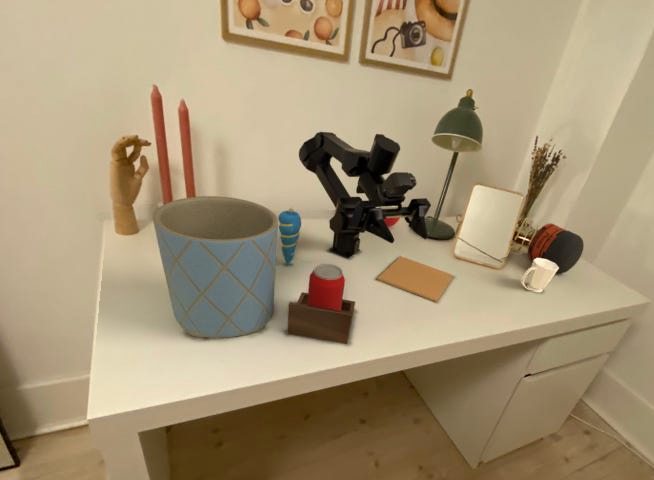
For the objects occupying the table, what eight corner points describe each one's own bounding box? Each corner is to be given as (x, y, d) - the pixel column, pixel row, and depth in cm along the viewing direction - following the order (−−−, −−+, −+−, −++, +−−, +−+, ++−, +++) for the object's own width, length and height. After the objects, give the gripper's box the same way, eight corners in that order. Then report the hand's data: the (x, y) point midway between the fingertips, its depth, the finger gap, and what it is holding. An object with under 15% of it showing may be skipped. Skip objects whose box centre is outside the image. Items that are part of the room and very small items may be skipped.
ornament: (273, 264, 92) (274, 205, 84) (285, 257, 96) (287, 200, 88) (291, 271, 91) (293, 212, 83) (302, 263, 95) (306, 206, 87)
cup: (552, 294, 106) (564, 269, 102) (526, 297, 102) (538, 271, 97) (534, 281, 111) (546, 257, 107) (509, 283, 107) (520, 258, 102)
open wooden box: (301, 301, 81) (302, 273, 78) (353, 310, 82) (358, 283, 78) (287, 334, 72) (288, 304, 68) (347, 344, 73) (351, 315, 69)
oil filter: (544, 257, 129) (561, 221, 121) (575, 274, 121) (595, 237, 114) (521, 261, 122) (537, 224, 114) (552, 280, 114) (572, 241, 107)
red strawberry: (385, 231, 121) (391, 201, 116) (374, 222, 126) (379, 193, 121) (400, 231, 124) (406, 201, 119) (389, 222, 129) (395, 193, 124)
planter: (173, 289, 77) (158, 193, 66) (269, 285, 84) (270, 198, 73) (167, 349, 63) (145, 240, 52) (283, 339, 70) (286, 241, 59)
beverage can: (344, 318, 79) (351, 269, 72) (330, 336, 74) (336, 283, 67) (315, 308, 80) (320, 258, 74) (299, 324, 75) (303, 272, 68)
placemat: (377, 279, 95) (377, 277, 95) (400, 258, 108) (400, 256, 108) (436, 302, 91) (436, 300, 91) (452, 276, 104) (453, 274, 104)
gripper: (353, 159, 76) (388, 213, 69) (423, 161, 86) (460, 208, 79) (338, 203, 84) (369, 254, 78) (404, 200, 94) (436, 245, 88)
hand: (410, 239), depth 80 cm, fingers open, 9 cm apart
